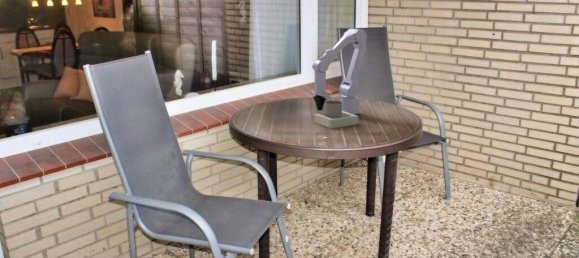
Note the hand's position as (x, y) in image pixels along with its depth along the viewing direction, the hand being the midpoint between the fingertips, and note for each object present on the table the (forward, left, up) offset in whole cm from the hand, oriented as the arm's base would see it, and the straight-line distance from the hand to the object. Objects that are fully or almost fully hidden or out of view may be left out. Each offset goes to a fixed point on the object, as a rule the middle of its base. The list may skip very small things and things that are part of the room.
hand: (319, 110), depth 247 cm
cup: (0, +12, -4) cm, 12 cm away
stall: (0, +13, -4) cm, 14 cm away
